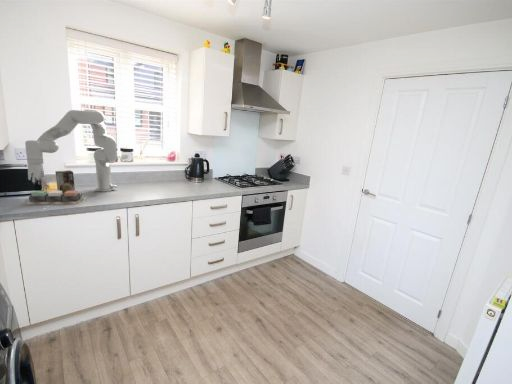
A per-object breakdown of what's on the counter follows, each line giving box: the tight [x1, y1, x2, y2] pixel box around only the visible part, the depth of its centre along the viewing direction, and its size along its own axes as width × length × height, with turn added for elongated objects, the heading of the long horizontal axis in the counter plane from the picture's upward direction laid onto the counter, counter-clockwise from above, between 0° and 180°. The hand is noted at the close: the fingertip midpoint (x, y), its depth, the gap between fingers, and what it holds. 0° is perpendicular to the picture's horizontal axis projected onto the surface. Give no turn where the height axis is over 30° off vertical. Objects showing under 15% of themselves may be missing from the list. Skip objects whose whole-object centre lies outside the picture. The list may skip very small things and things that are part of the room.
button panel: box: [25, 192, 84, 205], centre depth 168 cm, size 27×11×4 cm, turn 110°
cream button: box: [47, 190, 63, 196], centre depth 167 cm, size 6×6×4 cm
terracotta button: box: [64, 190, 79, 196], centre depth 170 cm, size 6×6×4 cm
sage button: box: [30, 190, 48, 196], centre depth 164 cm, size 6×6×4 cm
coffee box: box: [55, 170, 76, 193], centre depth 185 cm, size 9×6×16 cm
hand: (38, 190), depth 163 cm, fingers closed
